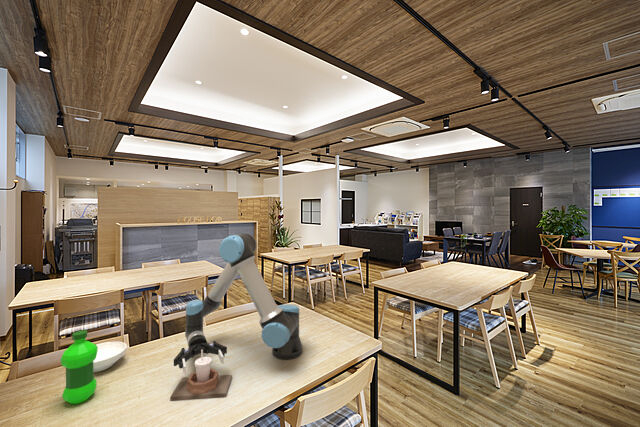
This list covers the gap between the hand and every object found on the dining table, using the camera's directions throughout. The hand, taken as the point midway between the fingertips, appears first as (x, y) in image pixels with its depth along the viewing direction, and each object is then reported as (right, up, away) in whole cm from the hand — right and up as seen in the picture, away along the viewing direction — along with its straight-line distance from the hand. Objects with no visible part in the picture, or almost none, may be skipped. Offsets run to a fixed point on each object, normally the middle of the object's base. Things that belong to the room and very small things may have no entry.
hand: (204, 365), depth 108 cm
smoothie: (-2, -10, +3) cm, 10 cm away
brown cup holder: (-2, -11, +3) cm, 11 cm away
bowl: (-54, -11, +18) cm, 58 cm away
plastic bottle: (-45, -11, -4) cm, 46 cm away
